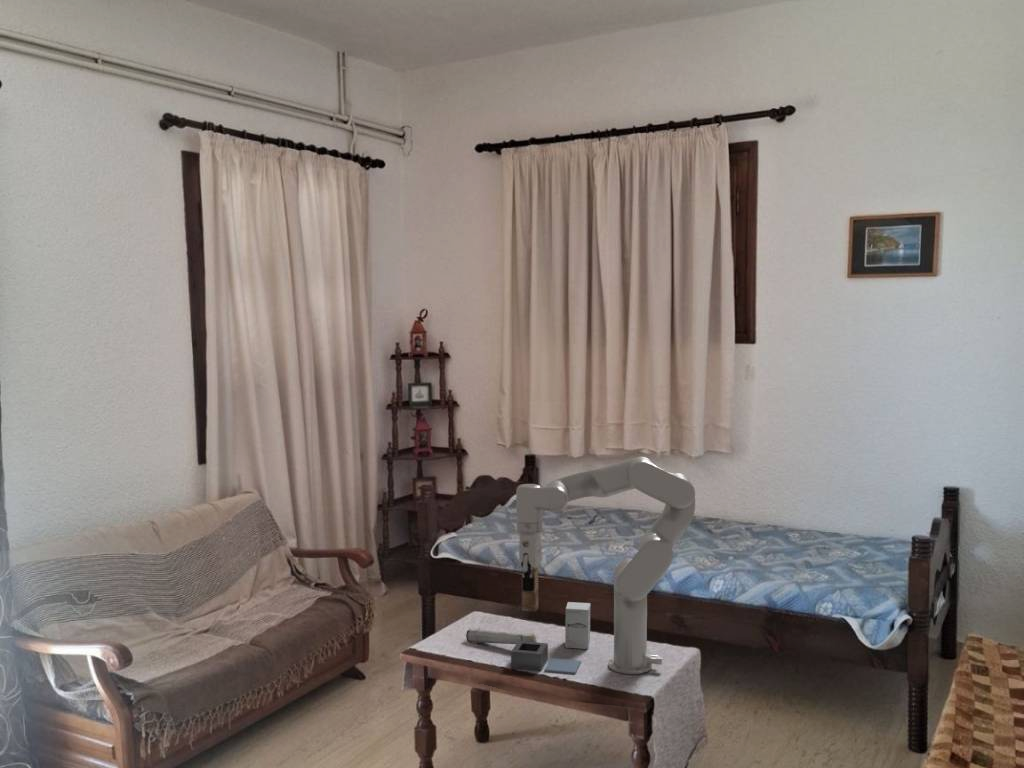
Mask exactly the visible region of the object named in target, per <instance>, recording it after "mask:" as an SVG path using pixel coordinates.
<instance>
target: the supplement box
mask: <svg viewBox="0 0 1024 768" xmlns="http://www.w3.org/2000/svg"><path fill="white" fill-rule="evenodd" d="M591 605H592V604H591V603H590V602H574V601H573V602H572V601H567V603H566V607H565V622H564V623H565V627H564V628H565V630H564V632H565V635H564V636H565V637H564V639H565V640H564V642H565V643H564V646H565V647H564V648H565V649H567V648H569V649H579V650H580V649H582V650H583V649H584V650H589V646H590V642H591V641H590V640H591Z"/></svg>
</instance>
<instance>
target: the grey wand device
mask: <svg viewBox="0 0 1024 768" xmlns="http://www.w3.org/2000/svg"><path fill="white" fill-rule="evenodd" d="M465 637H466V641H467V642H468V641H471V642H470V643H474V642H476V644H477V643H479V644H501V645H516V644H517V642H518V641H526V642H537V643H540V642H539V641H537V638H536V634H535V633H533V632H526V633H515V632H514V633H513V632H503V631H498V630H497V631H494V630H487V629H486V630H485V629H481V628H476V629H472V628H470V629H468V630H467V631H466V634H465Z"/></svg>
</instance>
